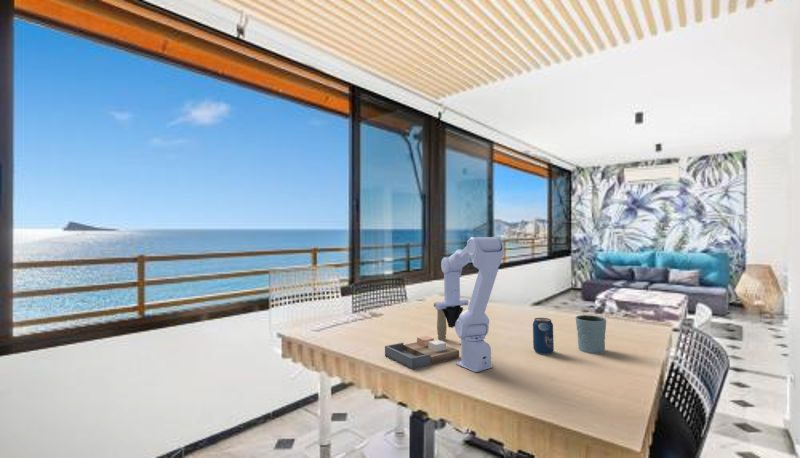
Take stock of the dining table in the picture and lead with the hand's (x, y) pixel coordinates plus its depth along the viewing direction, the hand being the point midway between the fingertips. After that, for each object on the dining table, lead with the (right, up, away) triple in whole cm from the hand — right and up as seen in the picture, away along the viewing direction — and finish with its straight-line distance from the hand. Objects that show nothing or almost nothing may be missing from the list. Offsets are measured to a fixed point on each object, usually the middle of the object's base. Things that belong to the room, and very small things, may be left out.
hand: (452, 326), depth 134 cm
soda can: (+33, -9, -1) cm, 34 cm away
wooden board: (-8, -10, -2) cm, 13 cm away
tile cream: (-6, -7, -4) cm, 10 cm away
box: (-17, -9, -8) cm, 21 cm away
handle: (-2, -10, +17) cm, 20 cm away
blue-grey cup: (+51, -9, 0) cm, 52 cm away
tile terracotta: (-10, -7, +2) cm, 12 cm away
